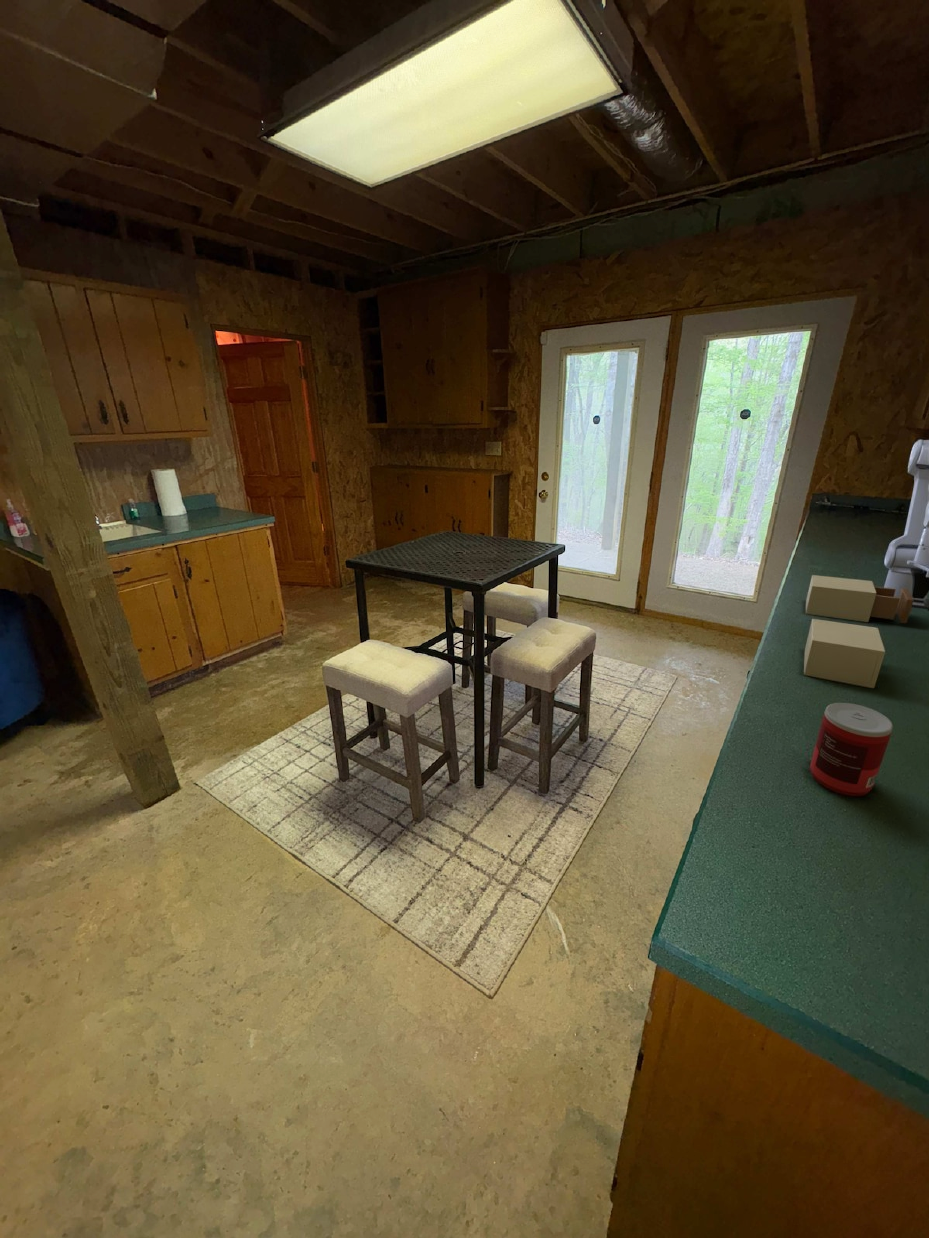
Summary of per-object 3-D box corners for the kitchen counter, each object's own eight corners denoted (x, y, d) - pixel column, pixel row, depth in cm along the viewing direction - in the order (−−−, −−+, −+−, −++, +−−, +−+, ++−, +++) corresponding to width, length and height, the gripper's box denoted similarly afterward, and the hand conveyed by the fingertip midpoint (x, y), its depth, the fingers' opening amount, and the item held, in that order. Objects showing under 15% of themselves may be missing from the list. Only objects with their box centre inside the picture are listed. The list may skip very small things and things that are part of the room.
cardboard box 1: (864, 608, 135) (872, 581, 132) (868, 622, 126) (876, 593, 123) (806, 601, 142) (812, 575, 139) (805, 613, 133) (812, 585, 130)
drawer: (923, 613, 128) (931, 591, 125) (931, 626, 120) (939, 602, 118) (843, 603, 137) (848, 582, 135) (845, 615, 129) (851, 592, 127)
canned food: (859, 767, 75) (879, 705, 71) (882, 802, 68) (905, 737, 64) (802, 758, 77) (817, 698, 73) (817, 792, 70) (836, 728, 66)
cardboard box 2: (804, 650, 112) (812, 618, 109) (867, 661, 106) (877, 627, 103) (803, 675, 102) (812, 640, 99) (874, 688, 96) (885, 651, 93)
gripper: (908, 538, 126) (893, 587, 131) (917, 550, 115) (901, 603, 120) (945, 540, 122) (928, 591, 127) (958, 553, 111) (939, 608, 116)
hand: (917, 597), depth 123 cm, fingers closed
